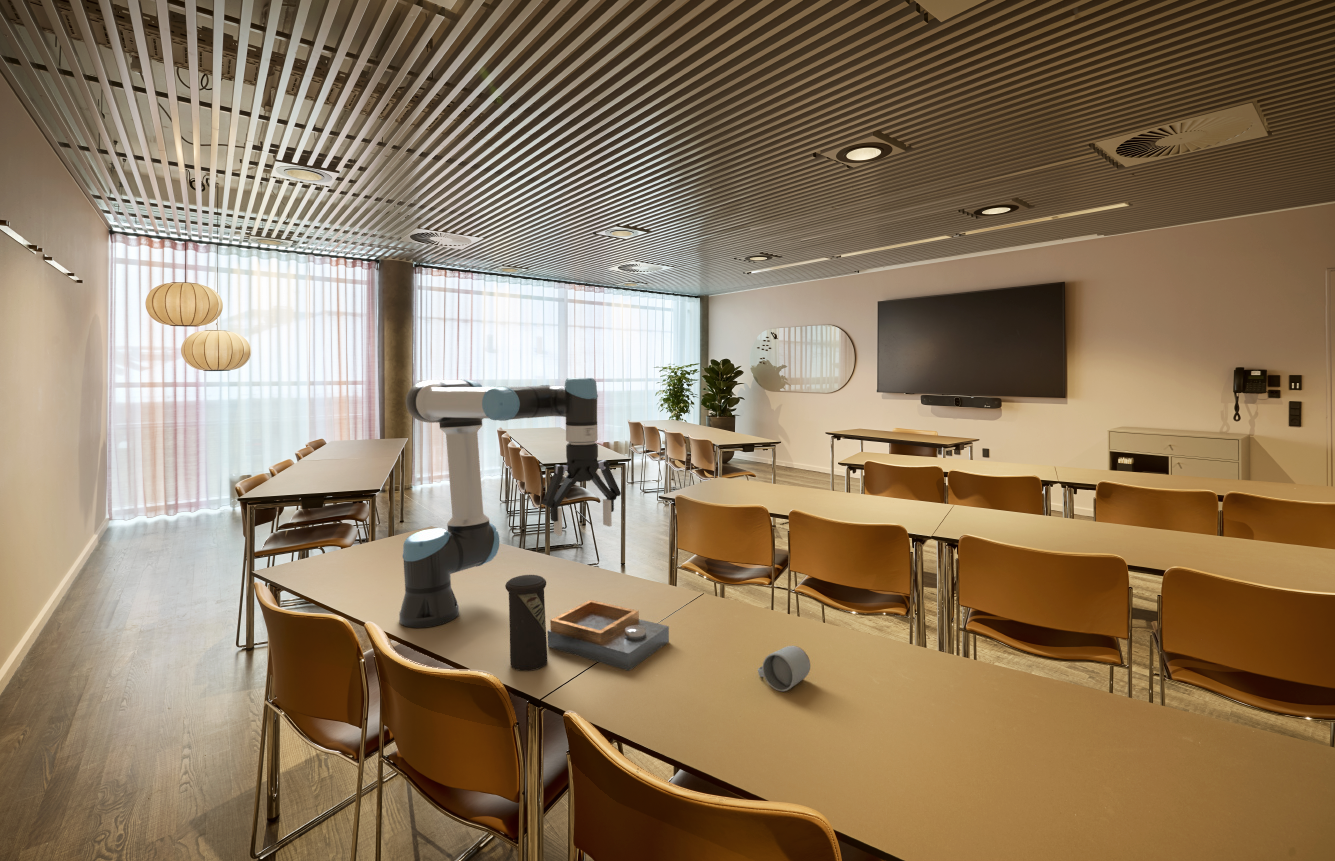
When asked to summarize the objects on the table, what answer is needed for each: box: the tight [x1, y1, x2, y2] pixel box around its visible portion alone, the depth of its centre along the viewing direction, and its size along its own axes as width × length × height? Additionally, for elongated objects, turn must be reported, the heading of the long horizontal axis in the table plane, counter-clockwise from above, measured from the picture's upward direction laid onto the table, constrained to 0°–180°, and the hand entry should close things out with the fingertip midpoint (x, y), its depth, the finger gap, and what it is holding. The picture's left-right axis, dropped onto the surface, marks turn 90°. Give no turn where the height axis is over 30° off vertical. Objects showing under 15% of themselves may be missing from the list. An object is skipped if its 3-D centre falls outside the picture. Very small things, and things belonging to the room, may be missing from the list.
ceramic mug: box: [757, 645, 811, 692], centre depth 129 cm, size 11×8×8 cm
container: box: [505, 574, 548, 672], centre depth 138 cm, size 9×9×20 cm
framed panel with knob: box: [546, 599, 670, 672], centre depth 148 cm, size 24×17×6 cm
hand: (583, 529), depth 147 cm, fingers open, 13 cm apart
